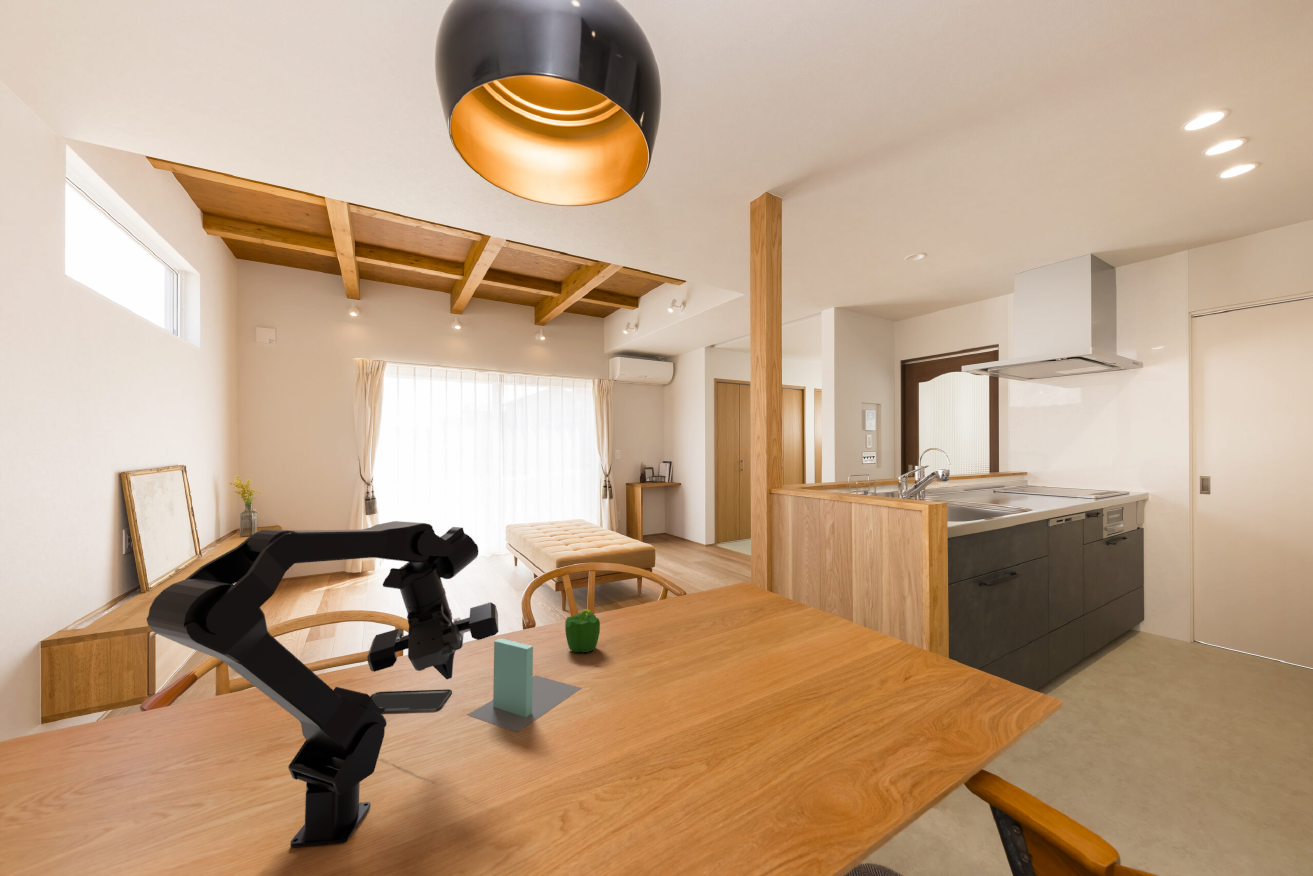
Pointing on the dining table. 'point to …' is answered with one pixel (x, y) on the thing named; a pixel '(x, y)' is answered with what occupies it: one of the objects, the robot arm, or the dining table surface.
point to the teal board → (513, 677)
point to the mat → (543, 700)
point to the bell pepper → (582, 631)
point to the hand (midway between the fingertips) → (449, 677)
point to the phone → (411, 700)
